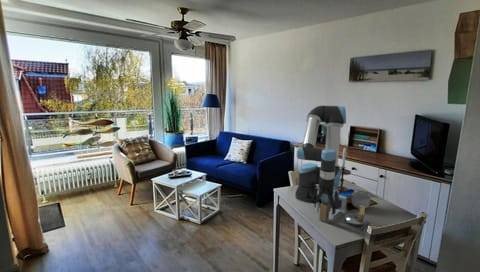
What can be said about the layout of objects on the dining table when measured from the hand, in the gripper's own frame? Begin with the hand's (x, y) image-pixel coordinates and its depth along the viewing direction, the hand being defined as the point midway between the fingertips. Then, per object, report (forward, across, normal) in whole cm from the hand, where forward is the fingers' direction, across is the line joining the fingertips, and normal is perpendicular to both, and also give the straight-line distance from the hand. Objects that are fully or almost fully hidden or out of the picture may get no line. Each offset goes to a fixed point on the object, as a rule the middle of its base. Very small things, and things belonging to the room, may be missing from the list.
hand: (324, 215), depth 141 cm
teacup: (+3, +7, +33) cm, 34 cm away
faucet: (+2, +13, +10) cm, 17 cm away
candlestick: (+3, -12, +50) cm, 52 cm away
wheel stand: (+3, +13, +10) cm, 17 cm away
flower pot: (+3, -9, +22) cm, 24 cm away
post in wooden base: (+2, 0, +7) cm, 7 cm away
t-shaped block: (+3, 0, +10) cm, 10 cm away
